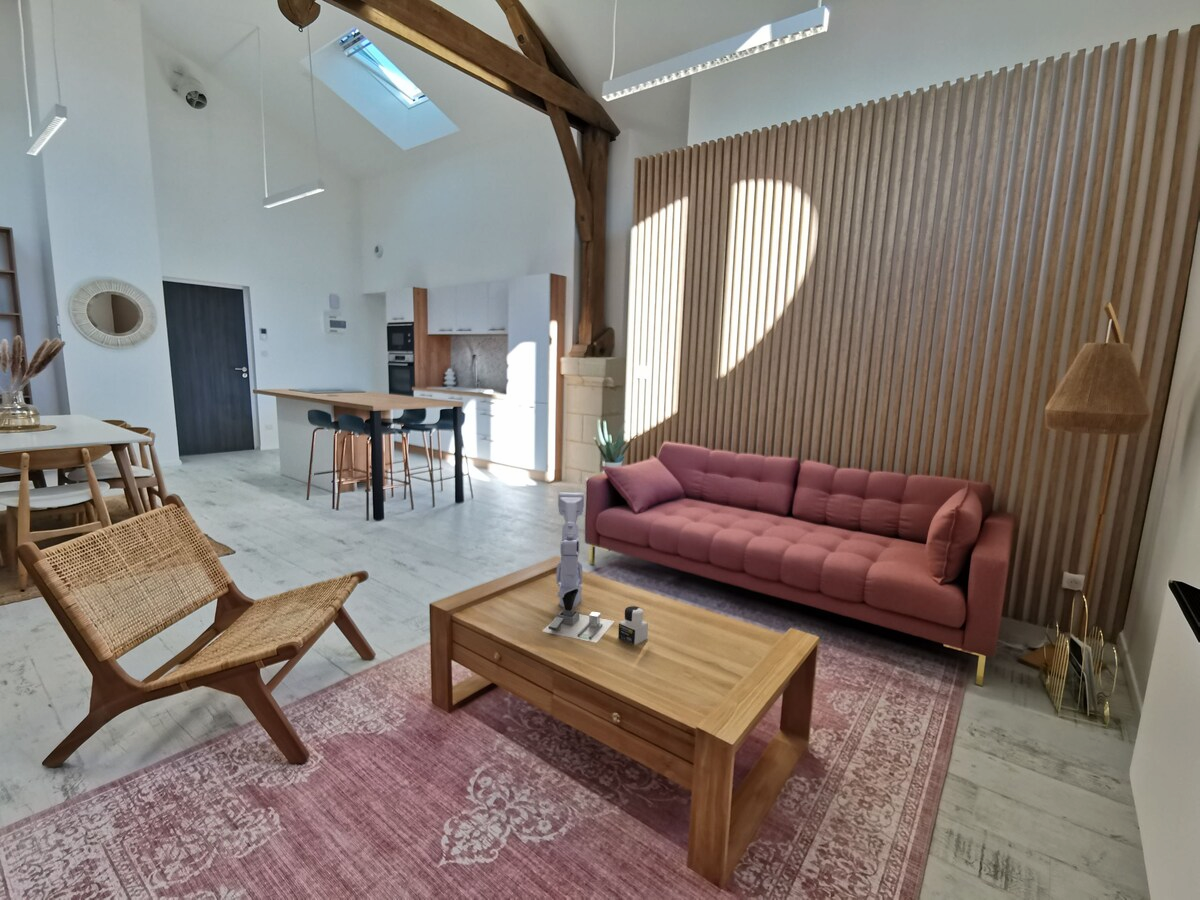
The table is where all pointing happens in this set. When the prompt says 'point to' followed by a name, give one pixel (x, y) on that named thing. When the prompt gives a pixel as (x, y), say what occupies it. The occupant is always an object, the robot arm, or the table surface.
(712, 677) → the table surface
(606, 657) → the table surface
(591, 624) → the slider knob
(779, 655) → the table surface
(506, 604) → the table surface
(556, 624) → the rocker
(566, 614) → the push button
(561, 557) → the robot arm
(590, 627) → the panel
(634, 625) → the medicine bottle
